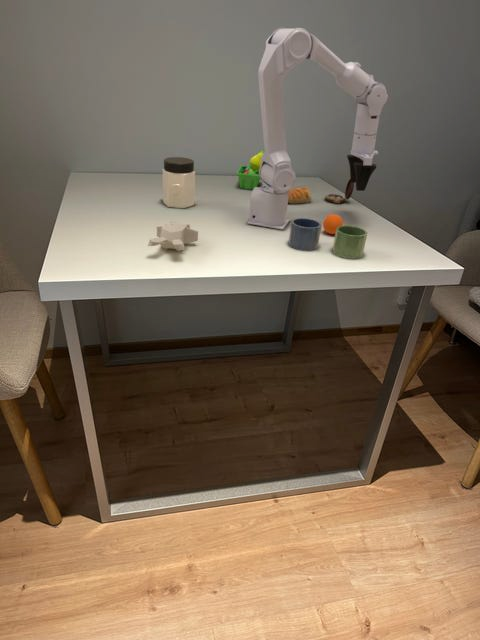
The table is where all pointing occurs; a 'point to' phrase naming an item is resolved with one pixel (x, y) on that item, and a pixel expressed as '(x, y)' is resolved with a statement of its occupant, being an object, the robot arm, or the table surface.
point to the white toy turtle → (174, 236)
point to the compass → (338, 198)
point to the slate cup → (304, 234)
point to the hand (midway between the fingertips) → (357, 186)
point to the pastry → (299, 195)
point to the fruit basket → (250, 173)
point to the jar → (178, 182)
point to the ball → (332, 223)
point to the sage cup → (349, 242)
